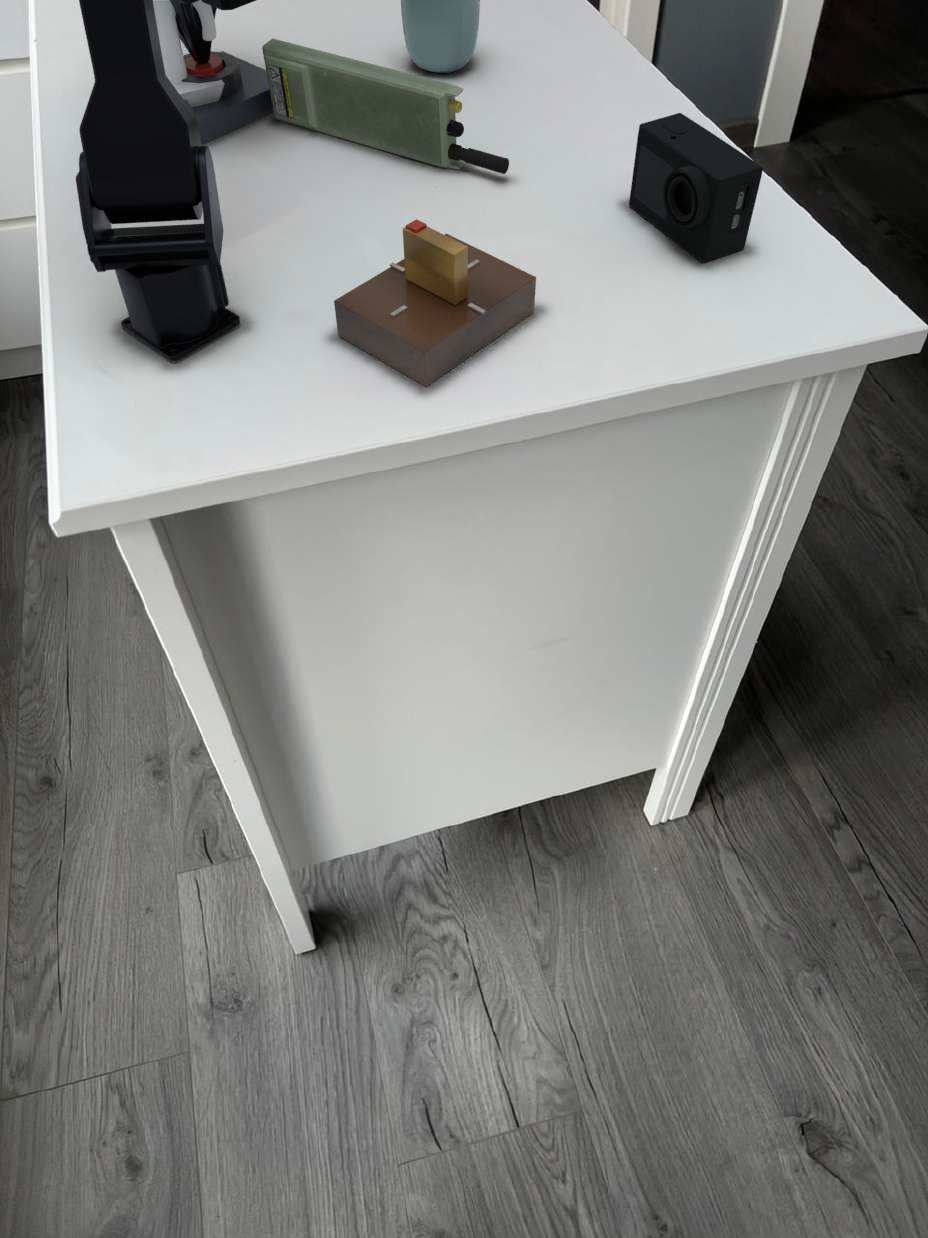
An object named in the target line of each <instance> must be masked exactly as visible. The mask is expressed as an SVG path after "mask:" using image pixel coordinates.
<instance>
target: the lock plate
mask: <svg viewBox="0 0 928 1238" xmlns="http://www.w3.org/2000/svg"><path fill="white" fill-rule="evenodd" d="M444 235H446V236H448V237H450V238H452V239H453V240H455V241H457V242H459V243H461V244H463V245H465V246H467V247H468V297H467V298H466V299H464V300H462V301H461V302H459V303H458V304H456V305H453V304H452V303H450V302H448V301H446V300H444V299H442V298H440V297H439V296H437V295H435V294H433V293H431V292H429V291H427V290H426V289H424V288H422V287H420V286H418V285H416V284H414V283H413V282H411V281H409V280H407V279H406V278H405V262H404V258H403V259H401V260H399V261H398V262H396V263H395V262H393V261H392V262H390V263H389V267H388V268H386V269H385V270H383V271H381V272H379V273H378V274H376V275H375V276H372V277H371V278H369V279H368V280H366V281H365V282H363V283H361V284H360V285H358V286H356V287H355V288H353V289H351V290H349V291H348V292H347V293H344V294H343V295H341V296H340V297H338V298H336V299H334V300H333V306H334V312H335V313H334V314H335V320H336V321H335V322H336V330H337V337H340V338H341V339H343V340H345V341H346V342H348V343H350V344H351V345H353V346H355V347H357V348H359V349H360V350H362V351H364V352H365V353H367V354H369V355H370V356H373V357H374V358H376V359H378V360H379V361H380V362H383V363H385V364H386V365H387V366H389V367H391V368H393V369H395V370H397V371H398V372H400V373H401V374H403V375H405V376H406V377H408V378H410V379H412V380H413V381H415V382H417V383H418V384H420V385H422V386H424V387H429V386H430V385H431V384H433V383H434V382H435V381H438V379H440V378H442V377H443V376H444V375H445V374H447V373H448V372H450V371H451V370H452V369H454V368H455V367H457V366H458V365H460V364H461V363H463V362H464V361H465V360H467V359H469V358H470V357H472V356H473V355H474V354H476V353H478V352H479V351H481V349H483V348H484V347H486V346H487V345H489V344H490V343H492V342H493V341H494V340H496V339H497V338H499V337H500V336H502V335H504V333H506V332H507V331H509V330H511V329H512V328H513V327H515V326H516V325H517V324H519V323H520V322H522V321H524V319H526V318H528V317H529V316H530V315H532V314H534V313H535V303H536V289H537V287H536V286H537V276H536V275H533V274H531V273H528V272H527V271H525V270H522V269H521V268H519V267H516V266H514V265H512V264H510V263H508V262H506V261H504V260H502V259H500V258H498V257H496V256H494V255H492V254H490V253H488V252H486V251H483V250H481V249H479V248H477V247H476V246H473V245H471V244H470V243H467V242H465V241H463V240H461V239H459V238H458V237H456V236H455V237H454V236H453V235H451V234H448V233H445V234H444Z"/></svg>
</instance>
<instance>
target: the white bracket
mask: <svg viewBox="0 0 928 1238" xmlns="http://www.w3.org/2000/svg"><path fill="white" fill-rule="evenodd" d="M192 4H193V6H194V7H195V8H196V10H197V11H198V13H199V16H200V19H201V23H202V36H203V39H204V40H206V41H212V42H213V41H214V40H215V39H216V38H217V27H216V20H215V21H214V16H213V12H212V8H211V6H210V5H208V4H206V3H203V2H202V1H201V0H199V1H197V2H194V3H192ZM153 6H154V11H155V17H156V23H157V29H158V35H159V41H160V47H161V52H162V58H163V64H164V70H165V74H166V76H167V78H168V79H169V81H170V82H171V83H172V85H173V86H174V87H175V89H176V90H177V91H178V93H179V94H180V96H181V97H182V98H183V99H186V100H187V101H188V103H189V104H190V106H191V107H196V106H200V105H204V104H208V103H212V102H216V101H219V99H220V96H221V93H222V90H223V87H224V84H225V83H224V82H223V81H222V80H218V81H212V82H205V83H191V82H182V81H181V80H183V79H185V78H187V74H188V73H187V71H186V66H185V61H184V52H183V48H182V41H181V40H180V37H179V33H178V28H177V23H176V18H175V16H176V13H175V10H174V8H173V6H172V4H171V2H170V0H153ZM214 74H215V73H214ZM188 75H191V74H188ZM211 75H212V74H211ZM194 76H195V75H194Z"/></svg>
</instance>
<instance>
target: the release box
mask: <svg viewBox="0 0 928 1238" xmlns="http://www.w3.org/2000/svg"><path fill="white" fill-rule="evenodd" d="M210 54H212V55H216V56H218V57H220V58H221V60H222V63H223V70H222V71H220V72H218V73H215V74H212V75H205V76H194V75H188V74H187V78H185V79H183V80H181V81H182V82H191V83H205V82H212V81H218V80H222V81H223V82H224V83H225V84H224V87H223V90H222V93H221V96H220V99H219V101H216V102H212V103H208V104H204V105H200V106H196V107H192V109H193V111H194V112H195V115H196V119H197V123H198V128H199V134H200V139H201V145H202V146H204V145H205V144H208V143H210V142H213V141H214V140H216V139H219V138H221V137H223V136H225V135H228V134H230V133H231V132H234V131H236V130H238V129H240V128H242V127H244V126H246V125H249V124H251V123H253V122H256V121H259V120H260V119H262V118H264V117H267V116H269V115H270V114H274V112H273V106H272V101H271V95H270V89H269V84H268V78H267V72H266V68H265V69H264V68H263V67H260V66H258V65H255V64H253V63H252V62H251V63H250V62H248V61H246V60H244V59H241V58H239V57H238V56H234V55H233V54H230V53H228V52H226V51H224V50H221V51H212V50H211V52H210ZM183 56H184V61H185V60H186V59H187V58H189V57H191V55H190V53H189V52H188V53H186V54H183Z"/></svg>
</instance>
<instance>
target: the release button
mask: <svg viewBox="0 0 928 1238" xmlns="http://www.w3.org/2000/svg"><path fill="white" fill-rule="evenodd" d="M185 66H186V71H187V73H188V74H191V75H195V76H205V75H211V74H214V73H218V72H220V71H222V70H223V63H222V60H221V58H220V57H218V56H216V55H212V54H210V60H209V61H208V62H207V63H204V64H199V63H197V62H195V61H194V59H193V58H192V56H191V57H189V58H187V59H186V60H185Z"/></svg>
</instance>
